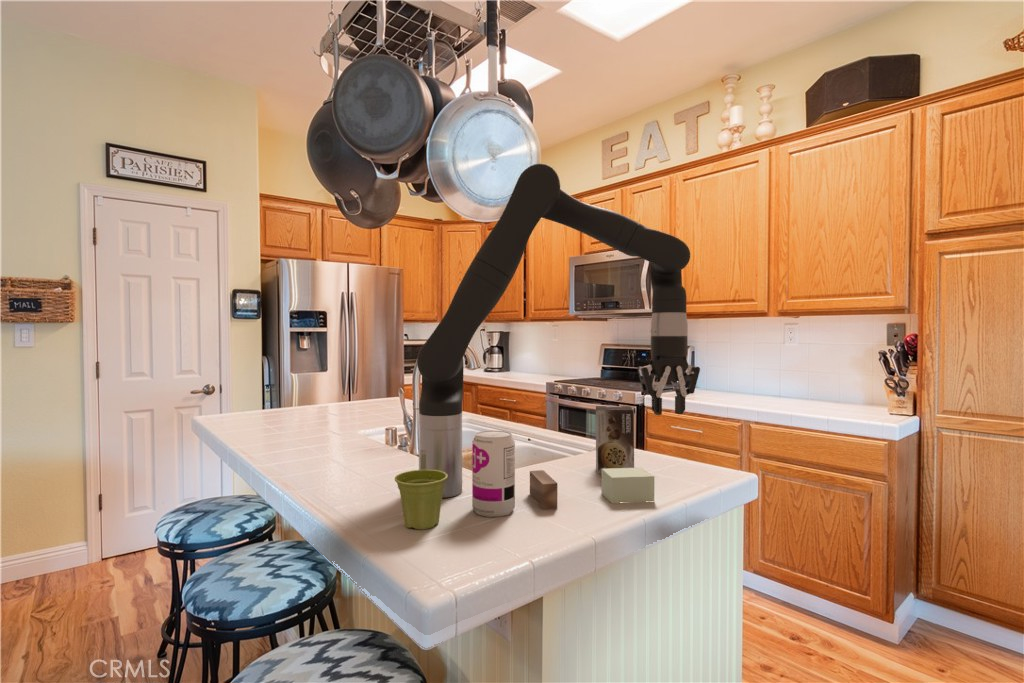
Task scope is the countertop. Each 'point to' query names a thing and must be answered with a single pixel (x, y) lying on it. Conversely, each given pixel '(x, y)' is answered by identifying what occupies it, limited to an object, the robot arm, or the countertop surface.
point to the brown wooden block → (543, 489)
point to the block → (627, 485)
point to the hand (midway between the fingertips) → (668, 413)
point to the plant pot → (421, 497)
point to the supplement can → (493, 473)
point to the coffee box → (614, 437)
